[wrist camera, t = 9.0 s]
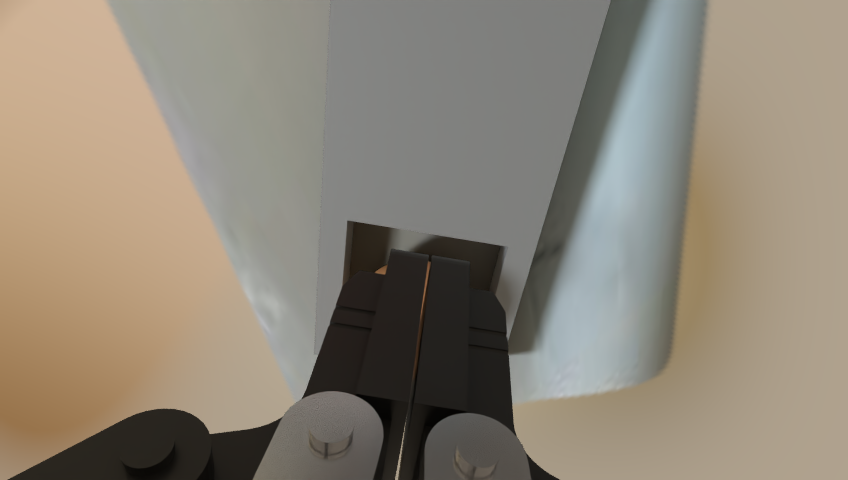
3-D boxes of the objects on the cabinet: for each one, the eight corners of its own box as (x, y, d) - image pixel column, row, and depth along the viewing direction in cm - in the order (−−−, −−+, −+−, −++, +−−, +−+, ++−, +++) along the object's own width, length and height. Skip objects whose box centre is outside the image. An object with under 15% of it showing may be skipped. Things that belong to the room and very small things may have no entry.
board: (345, -65, 25) (333, -63, 22) (603, -22, 25) (615, -15, 22) (323, 328, 37) (314, 354, 35) (493, 356, 37) (495, 383, 35)
